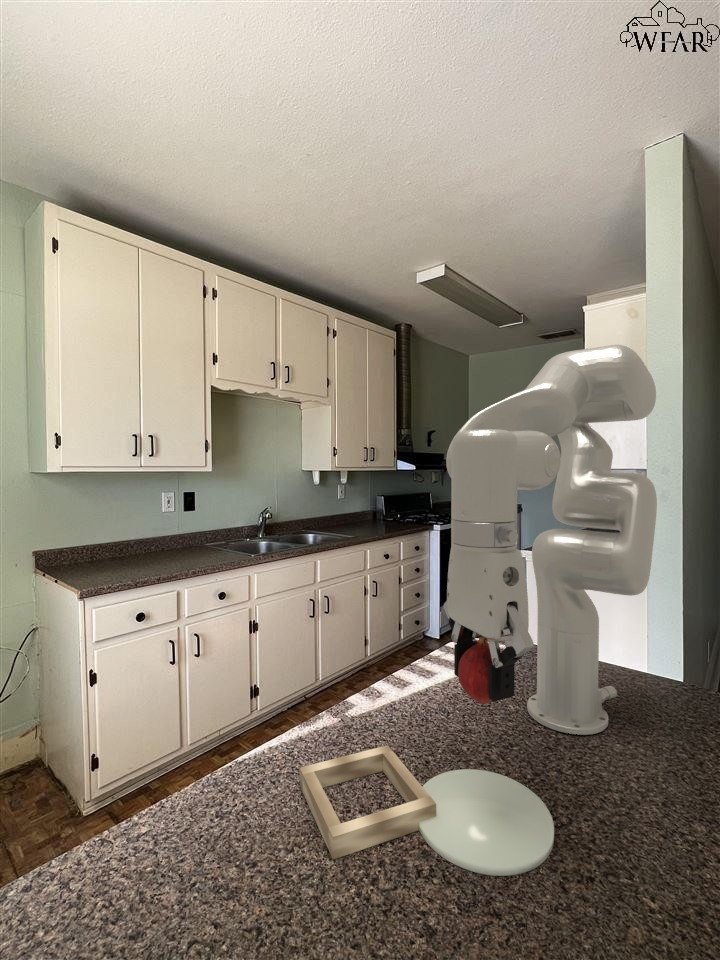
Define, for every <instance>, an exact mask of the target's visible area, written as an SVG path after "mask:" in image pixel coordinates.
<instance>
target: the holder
mask: <svg viewBox="0 0 720 960" xmlns="http://www.w3.org/2000/svg"><path fill="white" fill-rule="evenodd" d="M381 772H383V773H384V775H385V776H386V777H387V779H388V780H389V782H390V783H391V784H392V785H393V787H394V788H395V789H396V790H397V792H398V793H399V795H400V796H401V797H402V799H403V800H404V801H405V803H402V804H399V805H395V806H393V807H388V808H386V809H383V810H380V811H376V812H373V813H371V814H366V815H364V816H360V817H358V818H354V819H351V820H348V821H345V822H342V823H341V821H340V819H339V817H338V815H337V814H336V811H335V809H334V808H333V805H332V804H331V802H330V800H329V798H328V795H327V794H326V792H325V789H323V788H327V787H330V786H334V785H338V784H341V783H344V782H348V781H352V780H355V779H359V778H362V777H366V776H370V775H374V774H377V773H381ZM299 787H300V790H301V793H302V794H303V796H304V799H305V801H306V803H307V805H308V808H309V810H310V812H311V814H312V816H313V819H314V821H315V823H316V825H317V827H318V830H319V832H320V834H321V836H322V839H323V840H324V843H325V845H326V847H327V850H328V851H329V854H330V856H331V858H332V860H336V859H338V858H339V859H340V858H342V857H345V856H348V855H351V854H353V853H357V852H359V851H362V850H366V849H368V848H372V847H374V846H377V845H381V844H382V843H386V842H389V841H391V840H394V839H397V838H400V837H404V836H407V835H408V834H412V833H415V832H418V831H419V822H420V821H423V820H426V819H429V818H432V817H435V816H436V803H435V801H434V800H433V799H432V798H431V797H430V795H429V794H428V793H427V792H426V791H425V789H424V788H423V785H421V783H420V782H419V781H418V780H417V778H415V776H414V774H412V773H411V771H410V770H409V769H408V768H407V766H406V765H405V764H404V763H403V762H402V761H401V759H400V758H399V757H398V756H397V754H396V753H395V752H394V751H393V750H392V749H391V748H390V746H389V745H388V744H387V745H383V746H378V747H375V748H371V749H367V750H363V751H360V752H355V753H352V754H347V755H344V756H340V757H336V758H333V759H328V760H325V761H321V762H317V763H313V764H309V765H306V766H300V767H299Z"/></svg>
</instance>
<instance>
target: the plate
mask: <svg viewBox="0 0 720 960" xmlns="http://www.w3.org/2000/svg"><path fill="white" fill-rule="evenodd" d="M422 787H423V788H424V789H425V791H426V792H427V793H428V794H429V795H430V797H431V798H432V799H433V800H434V801H435V803H436V816H435V817H432V818H429V819H426V820H423V821H420V822H419V830H418V831H419V833H420V834H421V836H422V838H423V840H424V841H425V842H426V844H428V845H429V847H430V848H431V849H432V850H433V851H434V852H435V853H437V854H438V855H439V856H440V857H442V858H443V859H444V860H446V861H448V862H450V863H451V864H453V865H455V866H457V867H459V868H462V869H464V870H467V871H470V872H474V873H475V874H481V875H485V876H486V875H487V876H495V877H497V876H498V877H504V876H506V877H508V876H509V877H510V876H516V875H521V874H524V873H527V872H529V871H532V870H534V869H536V868H538V867H539V866H540V865H542V864H543V863H544V862H545V861H546V860H547V859H548V857H549V856H550V854H551V853H552V851H553V847H554V843H555V842H554V841H555V823H554V820H553V816H552V815H551V813H550V810H549V809H548V807H547V805H546V804H545V803H544V802H543V801H542V798H540V797H539V796H538V795H537V794H536V793H534V792H533V791H532V790H531V789H529V788H528V787H526V785H524V784H523V783H521V782H518V781H517V780H515V779H514V778H511V777H508V776H505V775H503V774H500V773H497V772H493V771H489V770H483V769H474V768H473V769H472V768H471V769H470V768H469V769H468V768H463V769H462V768H461V769H454V770H449V771H446V772H442V773H439V774H437V775H435V776H433V777H431V778H430V779H429V780H428V781H426V782H425V783H424V784H423V785H422Z"/></svg>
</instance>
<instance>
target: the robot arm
mask: <svg viewBox="0 0 720 960" xmlns="http://www.w3.org/2000/svg"><path fill="white" fill-rule="evenodd" d="M656 402H657V391H656V384H655V381H654V377H653V376H652V374H651V373H650V371H649V369H648V367H647V365H645V362H644V361H643V360H642V358H641V356H640V355H639V354H638V353H637V352H636V351H635V350H634V349H632V348H630V347H628V346H627V345H622V344H611V345H606V346H605V345H604V346H597V347H591V348H590V347H589V348H583V349H576V350H570V351H565V352H562V353H558V354H556V355H554V356H552V357H551V358H550V359H548V360H547V361H546V362H545V364H544V365H543V366H542V367H541V368H540V370H539V371H538V372H537V374H536V375H535V376H534V378H533V379H532V380H531V381H530V383H528V385H527V386H526V387H525V388H524V389H523V390H521V391H519V392H516V393H513V394H512V395H510V396H508V397H505V398H504V399H502V400H499V401H498V402H495V403H494V404H492V405H489V406H488V407H486V408H483V409H481V410H480V411H478V412H476V413H475V414H474V415H472V416H471V417H470V418H469V419H468V420H467V421H466V422H465V423H464V425H463V426H462V427H461V428H459V429H458V431H457V433H456V434H455V435H454V437H453V439H452V440H451V442H450V444H449V447H448V449H447V453H446V460H445V461H446V462H445V463H446V469H447V473H448V476H449V478H451V487H450V488H451V492H450V493H451V496H450V497H451V502H450V503H451V506H450V507H451V508H450V509H451V513H450V514H451V520H450V523H451V524H450V528H451V531H450V533H451V534H450V535H451V536H450V537H451V538H450V540H451V542H450V543H451V547H450V553H449V559H448V560H449V561H448V570H447V571H448V572H447V583H446V584H447V585H446V587H447V589H446V601H445V602H444V603H443V607H442V608H443V610H444V612H445V614H446V617H447V619H448V625H449V627H450V628H451V631H452V632H451V640H452V642H453V643H454V644H453V645H454V647H453V648H454V650H453V651H454V653H453V654H454V655H453V656H454V659H453V660H454V662H453V669H454V676H456V677H457V678H459V677H458V667H459V662H460V659H461V657H462V655H463V654H464V653H465V652H466V651H467V650H468V649H469V648H471V647H472V646H474V645H476V644H477V642H478V641H477V640H475V639H476V637H477V635H480V637H482V636H483V637H485V638H487V639H488V644H489V648H490V653H491V658H492V662H493V664H490V665H489V667H488V696H489V699H490V700H492V701H491V702H497V701H501V700H506V699H510V698H513V697H514V696H515V670H516V669H515V666H516V665H517V664H519V662H520V660H521V659H522V658H523V657H524V656H525V654H526V653H528V652H529V651H531V649H532V648H534V645H535V644H534V643H535V642H534V640H533V638H532V637H531V635H530V632H529V627H530V626H529V619H530V618H529V615H530V614H529V596H528V582H527V576H526V567H525V563H524V558H523V554H522V550H520V549H518V540H519V533H518V491H535V490H541V489H543V488H545V487H547V486H549V485H550V484H552V483H553V481H554V480H555V479H556V480H555V486H554V491H553V495H552V505H551V507H552V508H551V510H552V514H553V516H554V519H556V520H557V521H558V522H560V523H562V524H565V525H567V526H573V527H579V528H592V529H602V530H614V531H615V530H616V531H619V532H607V531H596V530H595V531H594V530H588V529H587V530H586V529H584V530H583V529H574V528H552V529H547V530H545V531H542V532H541V533H539V534H538V535H537V536H536V537H535V538H534V541H533V543H532V547H531V560H532V565H533V567H532V568H533V571H534V578H535V584H536V585H535V586H536V595H537V596H536V600H537V601H536V602H537V630H536V631H537V634H536V635H537V642H536V643H537V647H536V649H537V652H536V654H537V655H536V656H537V657H536V658H537V661H536V662H537V663H536V666H537V667H536V668H537V669H536V694H535V693H534V694H533V695H531V696H529V698H528V700H527V702H526V703H527V704H526V708H527V712H528V714H529V715H530V717H532V718H533V719H534V720H535V721H536V722H537V723H538V724H540V725H542V726H544V727H546V728H548V729H551V730H554V731H556V732H560V733H564V734H568V733H569V735H570V734H571V735H576V734H577V735H578V736H579V735H580V736H582V735H583V736H587V735H589V736H590V735H595V734H598V733H601V732H604V731H605V730H606V729H607V727H608V725H609V715H608V712H607V711H606V710H605V709H604V707H603V706H602V704H603V703H604V702H605V701H606V700H610V699H614V698H616V697H617V696H618V692H617V689H616V688H615V687H614V686H613V685H607V686H604V687H601V688H600V687H599V664H600V662H599V653H600V652H599V651H600V650H599V645H600V617H599V613H598V610H597V608H596V606H595V603H594V602H593V600H592V599H591V597H590V595H589V594H588V593H587V591H593V592H594V591H595V592H600V593H608V594H613V595H620V596H621V595H622V596H629V597H630V596H638V595H640V594H642V593H643V592H645V590H646V588H647V586H648V583H649V581H650V576H651V575H650V574H651V569H652V560H653V551H654V540H655V531H656V524H657V523H656V522H657V510H658V498H657V492H656V488H655V485H654V483H653V482H652V481H651V479H649V478H648V477H647V476H646V475H643V474H641V473H640V474H639V473H632V472H631V473H629V472H611V471H612V464H613V459H614V458H613V456H614V455H613V450H612V448H611V446H610V445H609V443H608V442H607V441H606V440H605V438H604V437H602V435H600V433H599V432H597V431H596V430H595V429H593V428H592V426H590V424H591V423H597V424H598V423H609V422H610V423H613V422H629V421H630V422H631V421H638V420H639V421H640V420H643V419H645V418H647V417H648V416H649V415H651V413H652V412H653V410H654V408H655V405H656ZM555 436H557V439H558V441H559V445H560V448H559V446H558V444H557V443H556V441H555V440H554V439H553V437H555ZM560 450H561V451H560ZM502 632H503V634H502ZM502 642H504V647H505V648H504V649H503V650H502V651H501V647H500V643H502Z"/></svg>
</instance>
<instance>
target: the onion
mask: <svg viewBox="0 0 720 960" xmlns="http://www.w3.org/2000/svg"><path fill="white" fill-rule="evenodd" d="M490 664H493V662H492V658H491V653H490V648H489V644H488V639H487V638H485V637H483V636H480V637H478V641H477V644H476V645H474V646H472V647H471V648H469V649H468V650H467V651H466V652H465V653H464V654H463V655H462V657H461V659H460V662H459V667H458V677H457V678H458V682H459V683H460V686H461V688H462V689H463V691H464V692H465V693H466V694H467V695H468V696H469V697H470V698H471V699H473V700H475V701H476V702H477V703H478V704H480V705H486V704H488V703H490V702H493V701H492V700H490V699H489V696H488V667H489V665H490Z"/></svg>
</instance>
